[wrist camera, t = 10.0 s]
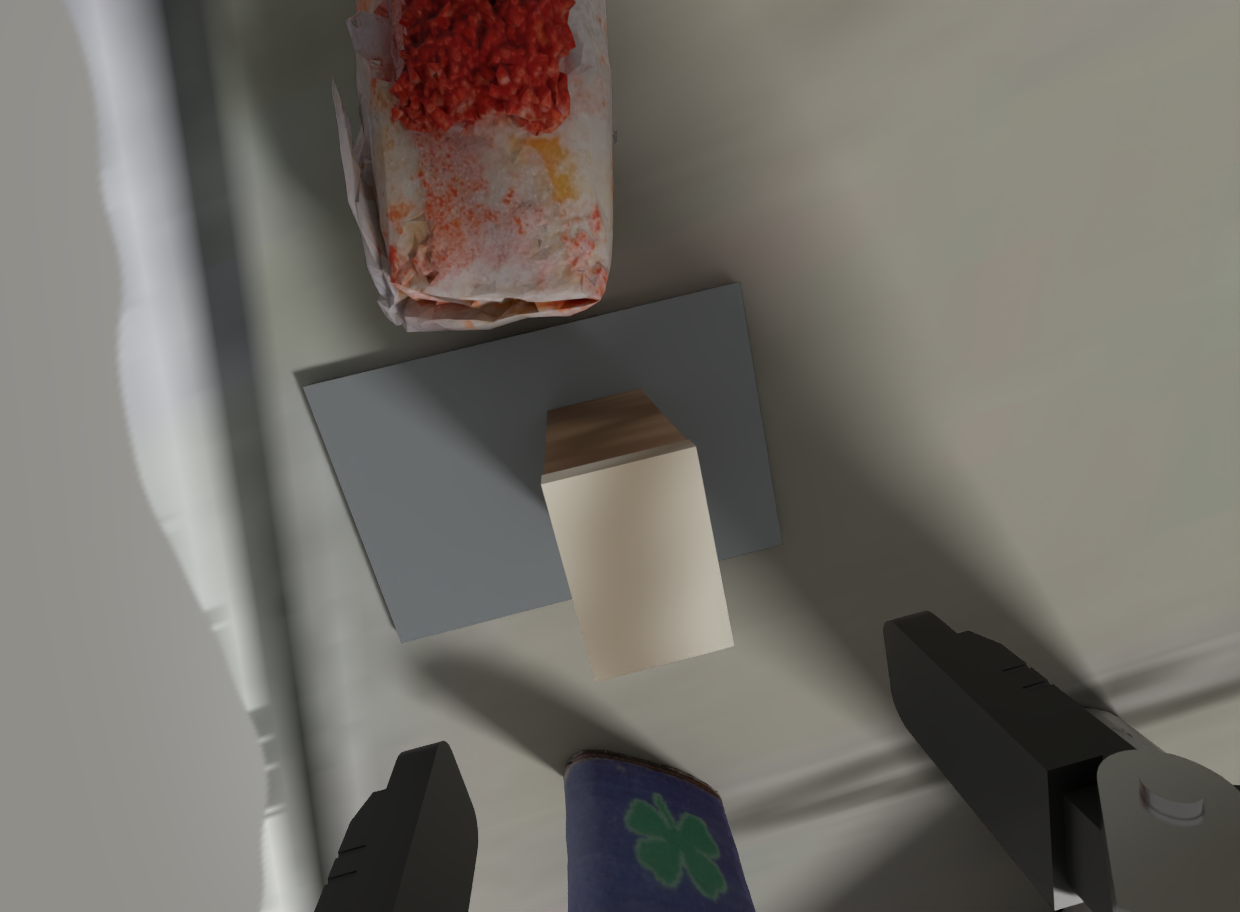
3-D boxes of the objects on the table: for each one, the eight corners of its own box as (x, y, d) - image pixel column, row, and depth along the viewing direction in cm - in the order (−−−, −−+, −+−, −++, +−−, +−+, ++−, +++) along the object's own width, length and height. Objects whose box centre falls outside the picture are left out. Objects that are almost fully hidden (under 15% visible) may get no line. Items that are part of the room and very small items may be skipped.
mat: (777, 539, 28) (782, 544, 28) (404, 635, 27) (401, 643, 27) (735, 282, 25) (739, 282, 24) (308, 384, 24) (302, 386, 24)
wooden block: (641, 386, 25) (695, 446, 15) (668, 518, 27) (734, 646, 17) (545, 409, 25) (541, 484, 15) (580, 540, 27) (595, 682, 17)
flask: (555, 779, 31) (558, 1024, 20) (581, 734, 30) (597, 964, 20) (707, 829, 33) (780, 1077, 22) (734, 789, 32) (821, 1023, 22)
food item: (612, 314, 25) (648, 328, 15) (415, 325, 24) (327, 346, 15) (592, -80, 21) (625, -383, 12) (360, -83, 20) (192, -407, 11)
